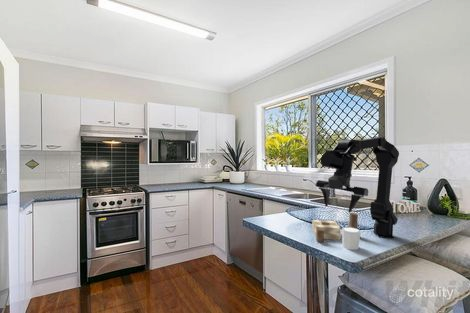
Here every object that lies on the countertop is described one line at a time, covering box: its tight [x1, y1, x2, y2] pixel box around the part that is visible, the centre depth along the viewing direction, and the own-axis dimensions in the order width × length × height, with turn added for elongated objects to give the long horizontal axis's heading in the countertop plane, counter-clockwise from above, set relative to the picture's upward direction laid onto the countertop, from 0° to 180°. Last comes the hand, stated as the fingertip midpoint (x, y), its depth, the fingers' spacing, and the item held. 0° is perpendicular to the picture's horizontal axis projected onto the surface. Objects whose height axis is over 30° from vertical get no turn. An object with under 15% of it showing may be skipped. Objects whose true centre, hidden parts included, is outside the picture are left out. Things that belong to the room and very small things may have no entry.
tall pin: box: [348, 212, 359, 229], centre depth 108 cm, size 3×3×10 cm
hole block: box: [311, 219, 342, 240], centre depth 109 cm, size 10×10×5 cm
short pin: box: [315, 228, 325, 243], centre depth 102 cm, size 3×3×5 cm
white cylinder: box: [341, 226, 362, 251], centre depth 96 cm, size 7×7×7 cm
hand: (337, 209), depth 96 cm, fingers open, 9 cm apart
